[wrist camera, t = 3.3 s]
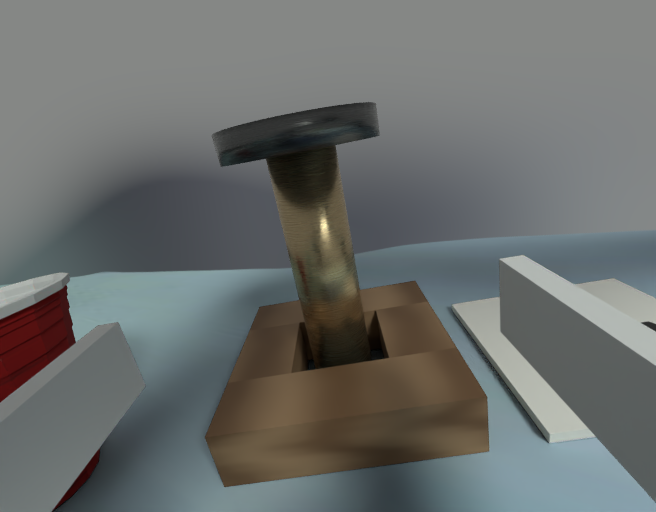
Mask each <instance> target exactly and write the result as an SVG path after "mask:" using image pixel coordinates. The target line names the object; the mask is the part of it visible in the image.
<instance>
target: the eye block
mask: <svg viewBox="0 0 656 512" xmlns="http://www.w3.org/2000/svg"><path fill="white" fill-rule="evenodd" d="M360 294H361V300H362V306H363V312H364V318H365V323H366V329H367V335H368V341H369V347H370V350H375V349H381V348H382V351H383V355H384V359H380V360H373V361H367V362H360V363H354V364H347V365H341V366H334V367H328V368H321V369H315V370H308V360H311V359H313V355H312V351H311V347H310V343H309V338H308V334H307V330H306V326H305V322H304V317H303V313H302V309H301V305H300V300H298V301H292V302H286V303H280V304H274V305H268V306H262V307H259V310H258V312H257V314H256V317H255V319H254V321H253V324H252V326H251V329H250V331H249V333H248V336H247V338H246V341H245V343H244V345H243V348H242V350H241V352H240V355H239V357H238V360H237V362H236V364H235V367H234V369H233V372H232V374H231V376H230V379H229V381H228V383H227V386H226V388H225V391H224V393H223V395H222V398H221V400H220V403H219V405H218V407H217V410H216V412H215V414H214V417H213V419H212V422H211V424H210V426H209V429H208V431H207V434H206V436H205V439H206V442H207V444H208V447H209V449H210V452H211V454H212V457H213V459H214V462H215V464H216V467H217V469H218V472H219V474H220V477H221V479H222V482H223V485H224V487H228V486H235V485H243V484H250V483H258V482H265V481H273V480H280V479H287V478H295V477H302V476H310V475H317V474H325V473H332V472H339V471H347V470H354V469H362V468H369V467H377V466H384V465H391V464H399V463H406V462H414V461H421V460H428V459H436V458H443V457H451V456H458V455H466V454H473V453H480V452H488V451H489V431H488V405H487V396H486V394H485V392H484V391H483V389H482V388H481V386H480V384H479V383H478V381H477V380H476V378H475V376H474V375H473V373H472V371H471V370H470V368H469V367H468V365H467V363H466V362H465V360H464V359H463V357H462V355H461V354H460V352H459V351H458V349H457V347H456V346H455V344H454V343H453V341H452V339H451V338H450V336H449V335H448V333H447V331H446V330H445V328H444V326H443V325H442V323H441V322H440V320H439V318H438V317H437V315H436V314H435V312H434V310H433V309H432V307H431V306H430V304H429V302H428V301H427V299H426V298H425V296H424V294H423V293H422V291H421V289H420V288H419V286H418V285H417V283H416V281H411V282H405V283H399V284H393V285H387V286H381V287H375V288H369V289H363V290H360ZM307 370H308V371H307Z"/></svg>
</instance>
